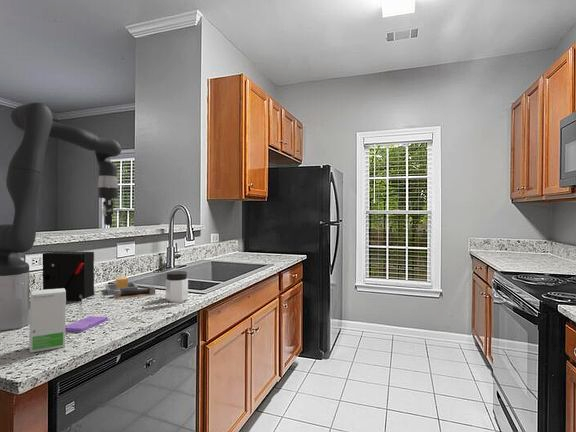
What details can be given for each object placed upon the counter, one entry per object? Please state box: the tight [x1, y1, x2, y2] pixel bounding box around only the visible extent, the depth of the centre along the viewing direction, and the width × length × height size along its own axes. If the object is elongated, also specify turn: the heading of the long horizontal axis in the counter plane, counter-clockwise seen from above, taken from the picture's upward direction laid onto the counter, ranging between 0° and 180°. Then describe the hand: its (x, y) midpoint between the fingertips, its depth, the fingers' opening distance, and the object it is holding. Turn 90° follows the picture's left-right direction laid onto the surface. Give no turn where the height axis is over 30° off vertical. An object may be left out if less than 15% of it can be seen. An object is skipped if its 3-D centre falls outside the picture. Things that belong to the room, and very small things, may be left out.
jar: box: [165, 270, 189, 305], centre depth 147 cm, size 9×8×12 cm
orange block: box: [115, 276, 129, 289], centre depth 161 cm, size 6×4×6 cm
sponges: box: [65, 315, 109, 333], centre depth 116 cm, size 7×13×2 cm, turn 171°
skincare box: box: [28, 288, 67, 354], centre depth 98 cm, size 8×7×16 cm
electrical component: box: [42, 250, 96, 302], centre depth 150 cm, size 18×10×20 cm, turn 84°
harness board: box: [112, 285, 157, 300], centre depth 153 cm, size 16×10×4 cm, turn 122°
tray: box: [105, 281, 139, 296], centre depth 161 cm, size 12×12×3 cm
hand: (108, 224), depth 151 cm, fingers open, 8 cm apart
